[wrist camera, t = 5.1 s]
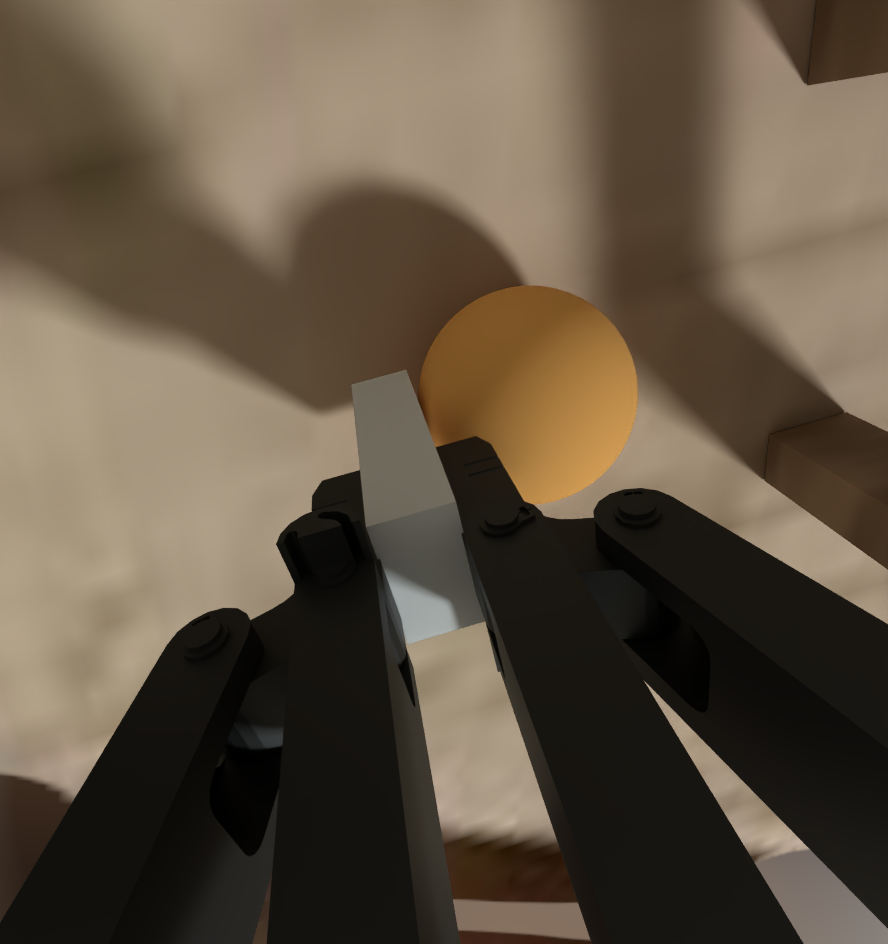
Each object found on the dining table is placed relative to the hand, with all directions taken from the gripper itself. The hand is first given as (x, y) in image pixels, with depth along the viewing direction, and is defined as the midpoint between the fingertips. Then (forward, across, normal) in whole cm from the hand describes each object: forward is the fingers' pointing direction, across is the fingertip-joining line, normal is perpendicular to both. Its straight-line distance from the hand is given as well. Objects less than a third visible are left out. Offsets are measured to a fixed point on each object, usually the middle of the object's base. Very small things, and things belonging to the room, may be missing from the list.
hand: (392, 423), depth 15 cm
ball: (-1, -4, 0) cm, 4 cm away
